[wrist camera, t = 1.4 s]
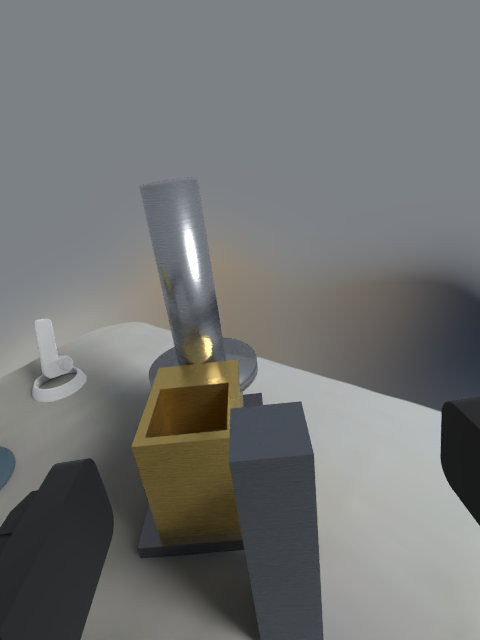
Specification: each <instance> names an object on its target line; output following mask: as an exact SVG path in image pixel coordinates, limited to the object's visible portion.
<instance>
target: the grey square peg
mask: <svg viewBox="0 0 480 640" xmlns="http://www.w3.org/2000/svg"><path fill="white" fill-rule="evenodd" d="M229 466H230V471H231V477H232V483H233V488H234V494H235V500H236V505H237V511H238V516H239V522H240V528H241V533H242V539H243V544H244V550H245V556H246V561H247V567H248V572H249V578H250V584H251V589H252V595H253V600H254V606H255V612H256V617H257V623H258V628H259V634H260V640H323V622H322V602H321V583H320V564H319V545H318V526H317V506H316V487H315V468H314V453H313V449H312V445H311V441H310V436H309V432H308V428H307V424H306V420H305V416H304V411H303V407H302V403H301V402H291V403H281V404H271V405H261V406H251V407H241V408H231V409H230V441H229Z"/></svg>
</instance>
